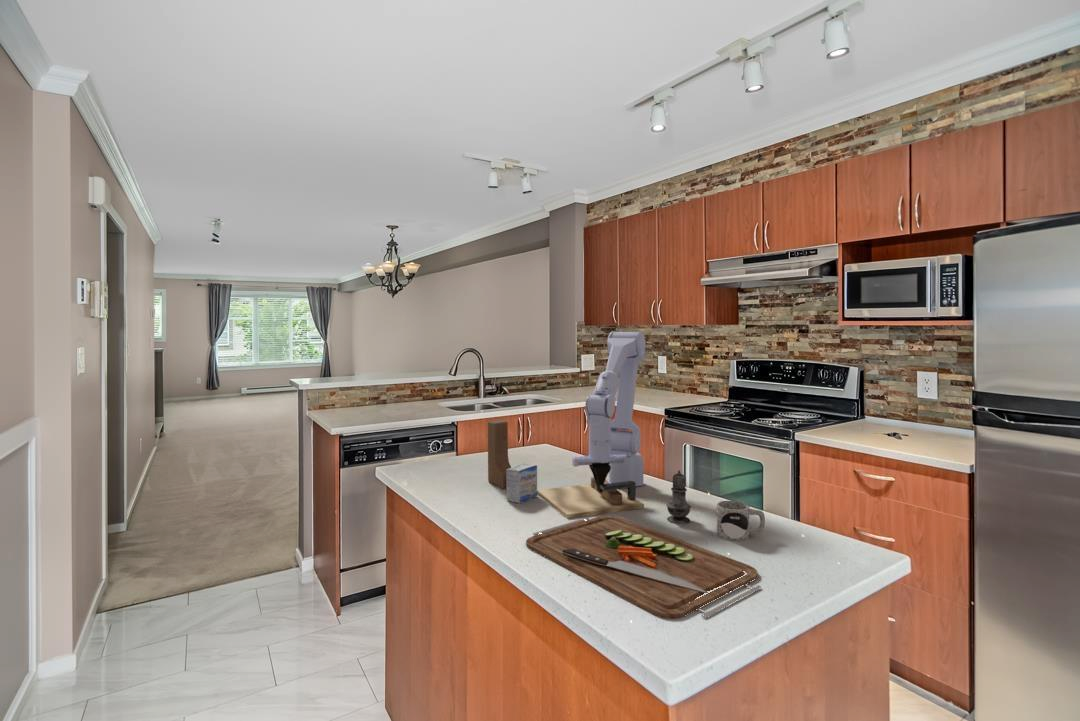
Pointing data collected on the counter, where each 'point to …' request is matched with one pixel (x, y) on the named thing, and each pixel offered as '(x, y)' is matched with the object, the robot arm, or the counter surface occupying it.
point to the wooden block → (498, 452)
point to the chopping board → (643, 564)
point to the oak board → (584, 501)
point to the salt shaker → (678, 501)
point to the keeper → (620, 485)
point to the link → (609, 493)
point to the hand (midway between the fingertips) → (599, 491)
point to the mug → (736, 520)
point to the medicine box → (521, 482)
